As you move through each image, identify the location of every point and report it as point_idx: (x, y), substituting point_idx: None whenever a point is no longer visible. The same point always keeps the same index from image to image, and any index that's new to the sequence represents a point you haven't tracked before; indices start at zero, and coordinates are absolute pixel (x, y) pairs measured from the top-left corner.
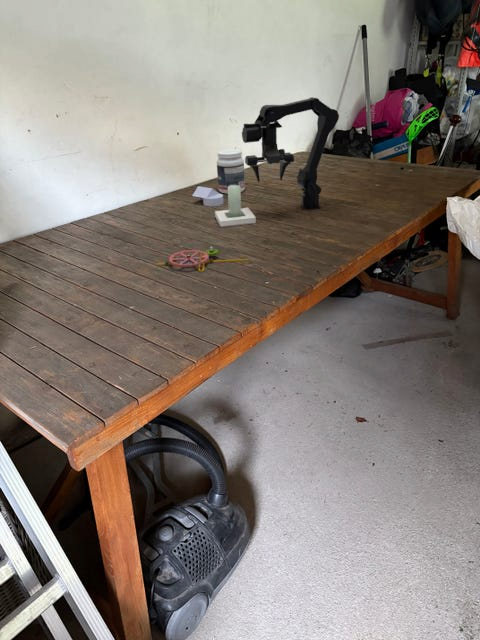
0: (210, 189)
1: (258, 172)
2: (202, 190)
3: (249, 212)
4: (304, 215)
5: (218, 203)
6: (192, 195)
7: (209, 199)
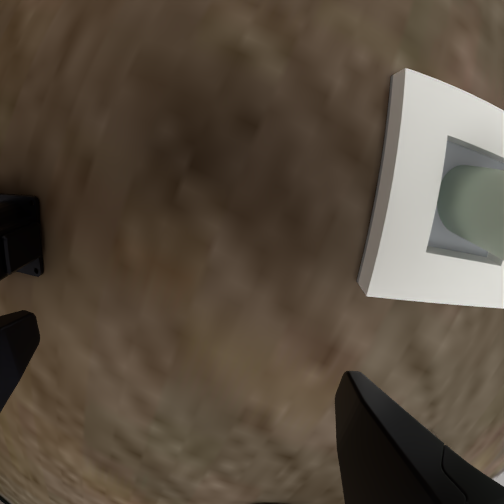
0: None
1: (426, 475)
2: None
3: (404, 191)
4: (75, 96)
5: None
6: None
7: None
